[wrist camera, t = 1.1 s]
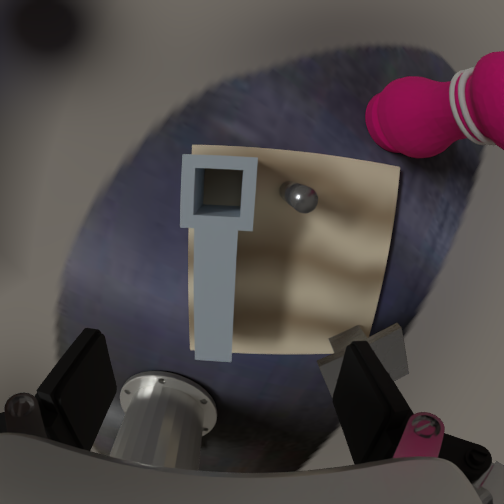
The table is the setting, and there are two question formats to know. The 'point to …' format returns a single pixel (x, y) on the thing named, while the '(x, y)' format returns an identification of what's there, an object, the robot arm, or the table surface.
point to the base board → (303, 248)
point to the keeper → (383, 344)
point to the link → (215, 249)
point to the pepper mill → (440, 110)
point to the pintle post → (299, 196)
